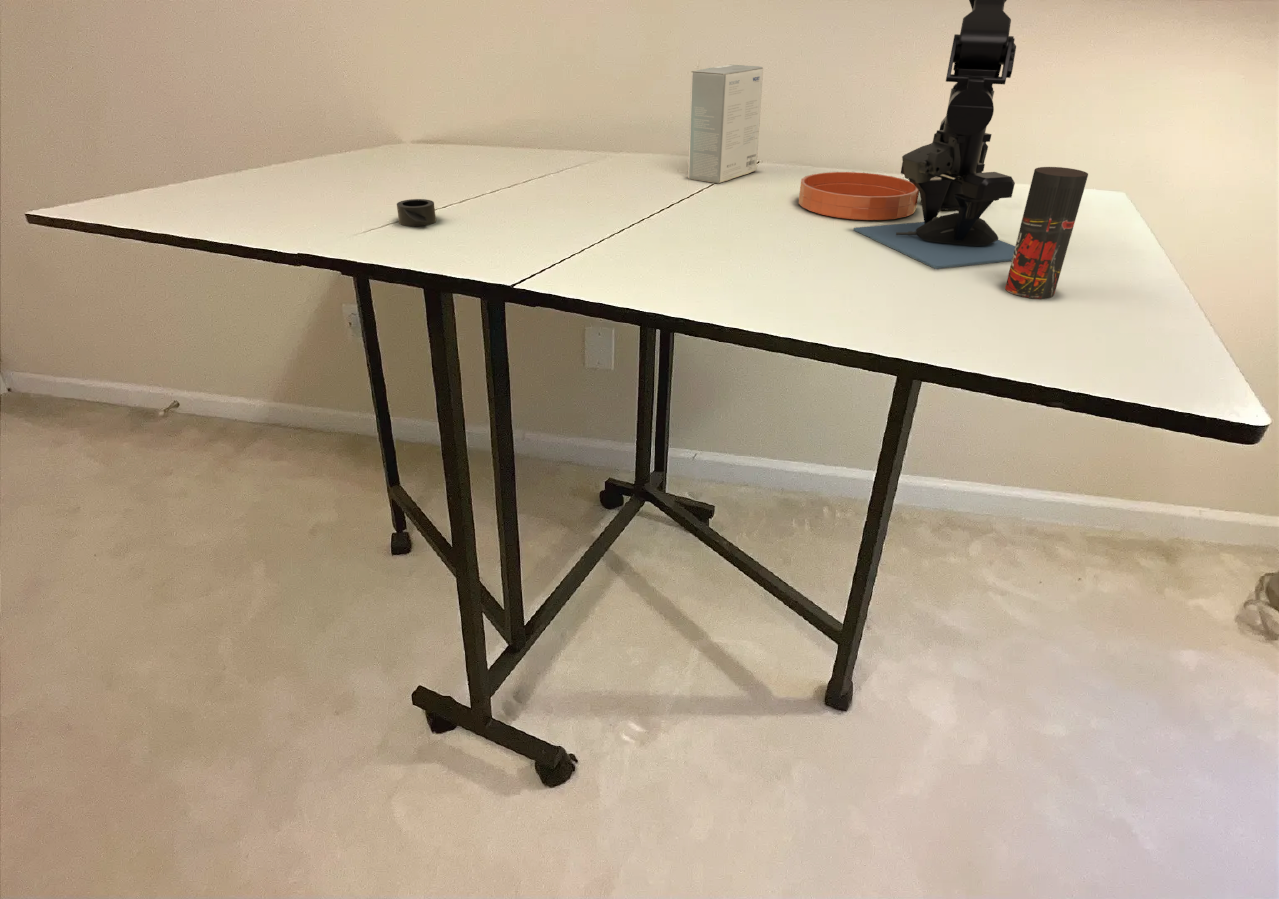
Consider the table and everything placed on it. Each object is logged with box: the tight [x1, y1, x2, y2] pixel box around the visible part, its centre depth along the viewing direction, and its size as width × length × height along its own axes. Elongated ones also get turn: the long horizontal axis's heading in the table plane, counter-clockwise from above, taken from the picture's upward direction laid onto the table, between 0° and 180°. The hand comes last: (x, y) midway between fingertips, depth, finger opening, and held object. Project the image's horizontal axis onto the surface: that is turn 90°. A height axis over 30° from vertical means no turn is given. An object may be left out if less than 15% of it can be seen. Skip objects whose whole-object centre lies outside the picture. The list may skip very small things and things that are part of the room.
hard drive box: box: [687, 64, 764, 184], centre depth 160 cm, size 16×8×20 cm, turn 144°
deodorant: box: [1004, 166, 1089, 300], centre depth 101 cm, size 6×6×15 cm
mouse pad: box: [853, 221, 1016, 270], centre depth 124 cm, size 18×21×1 cm
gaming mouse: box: [896, 212, 1000, 246], centre depth 123 cm, size 6×15×4 cm, turn 77°
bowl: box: [798, 171, 920, 221], centre depth 142 cm, size 20×20×4 cm
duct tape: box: [396, 198, 437, 227], centre depth 130 cm, size 8×10×3 cm
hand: (943, 233), depth 123 cm, fingers closed on gaming mouse, 7 cm apart
